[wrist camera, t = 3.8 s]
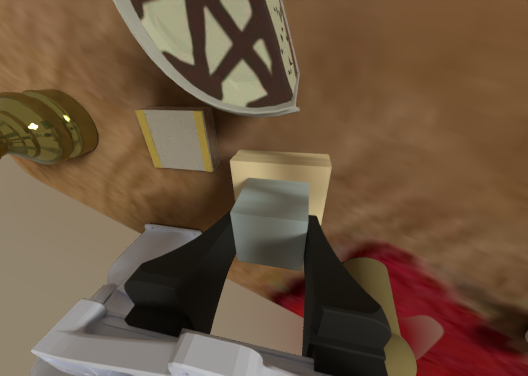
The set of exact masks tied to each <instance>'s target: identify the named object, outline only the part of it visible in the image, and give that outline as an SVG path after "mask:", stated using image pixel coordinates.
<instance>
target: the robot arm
mask: <svg viewBox="0 0 528 376" xmlns="http://www.w3.org/2000/svg"><path fill="white" fill-rule="evenodd" d="M231 210H232V209H231ZM231 210H230V211H229V212H228V213H227V214H226V215H225V216H223V217H222V218H221V219H220V220H219V221H218V222H216V223H215V224H214V225H213V226H212V227H210V228H209V229H208V230H206V231H205V232H204V233H202V232H201V231H199V230H191V229H184V228H177V227H170V226H162V225H155V224H148V223H147V224H146V225H145V229H146V230H145V231H144V232H143V233H142V234H141V235H140V236H139V237H138V238H137V239H136V240H135V241H134V242H133V243H132V244H131V245H130V246H129V247H128V248H127V249H126V250H125V251H124V252H123V253H122V254H121V255H120V256H119V258H117V260H116V261H115V262H114V264H113V265H112V267H111V269H110V272H109V274H108V278H107V282H108V284H107V285H104V286H102V287H101V288H100V289H99V290H98V291H97V292H96V293H95V294H94V295H93V296H92V298H90V299H85V298H83V299H81V300H80V301H79V302H78V303H77V304H76V305H75V306H74V307H73V308H72V309H71V310H70V311H69V312H68V313H67V314H66V315H65V316H64V317H63V318H62V319H61V320H60V321H59V322H58V323H57V324H56V325H55V326H54V328H52V329H51V330H50V331H49V332H48V333H47V334H46V335H45V337H43V338H42V340H40V342H39V343H38V344H37V345H36V346H35V347H34V348H33V349H32V350H31V352H32V353H33V354H35V355H37V356H38V357H37V358H36V360H35V364H34V366H33V367H32V369H31V371H30V376H388V373H387V370H386V366H385V362H384V361H385V360H386V355H385V351H384V347H385V346H386V344H387V343H388V341H389V340H390V339H391V336H392V332H391V328H390V325H389V322H388V320H387V317H386V315H385V313H384V311H383V309H382V306H381V305H380V304H379V303H378V302H377V301H375V300H374V299H373V298H372V297H371V296H370V295H369V294H368V293H367V292H366V291H365V290H364V289H363V288H362V287H361V286H360V285H359V284H358V282H357V281H356V280H355V279H354V278H353V277H352V275H351V274H350V273H349V272H348V271H347V269H346V268H345V267H344V266H343V264H342V263H341V261H340V260H339V259H338V257H337V256H336V254H335V253H334V251H333V249H332V248H331V246H330V244H329V242H328V241H327V239H326V237H325V235H324V233H323V231H322V228H321V226H320V223H319V221H318V217H317V216H316V215H308V228H307V235H306V243H305V250H304V272H305V303H304V327H303V328H304V329H303V347H302V356H299V355H295V354H290V353H286V352H282V351H278V350H274V349H269V348H265V347H260V346H257V345H252V344H248V343H243V342H240V341H235V340H231V339H227V338H222V337H218V336H214V335H210V332H211V328H212V324H213V320H214V316H215V313H216V309H217V306H218V302H219V299H220V295H221V292H222V289H223V286H224V282H225V279H226V276H227V273H228V271H229V268H230V266H231V264H232V261H233V259H234V257H235V255H236V246H235V240H234V234H233V227H232V221H231V215H230V212H231Z"/></svg>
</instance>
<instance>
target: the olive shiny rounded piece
mask: <svg viewBox="0 0 528 376" xmlns="http://www.w3.org/2000/svg"><path fill="white" fill-rule="evenodd" d="M97 141H98V135H97V130H96V127H95V125H94V123H93V121H92V119H91V117H90V116H89V114H88V113H87V112H86V111H85V109H84V108H83V107H82V106H81V105H80V104H79V103H78V102H77V101H75V100H74V99H73V98H72V97H70V96H69V95H67V94H65V93H63V92H61V91H58V90H54V89H44V90H26V91H24V92H22V93H16V92H2V93H0V159H1V157H2V156H4V155H6V154H11V155H15V156H19V157H21V158H25V159H29V160H32V161H34V162H37V163H40V164H44V165H58V164H61V163H63V162H64V161H66V160H67V159H69V158H76V157H78V156H80V155H81V154H84V153H87V152H89V151H92V150H93V149H94V148H95V147H96V145H97Z"/></svg>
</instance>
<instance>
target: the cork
mask: <svg viewBox="0 0 528 376" xmlns="http://www.w3.org/2000/svg"><path fill="white" fill-rule="evenodd" d="M343 266H344V267H345V268H346V269H347V271H348V272H349V273H350V274H351V275H352V277H353V278H354V279H355V280H356V281H357V282H358V284H359V285H360V286H361V287H362V288H363V289H364V290H365V291H366V292H367V293H368V294H369V295H370V296H371V297H372V298H373V299H374V300H375V301H377V302H378V303H379V304H380V305H381V306H382V309H383V311H384V313H385V315H386V317H387V320H388V322H389V325H390V328H391V332H392V336H391V339H390V340H389V341H388V343H387V344H386V346H385V347H384V351H385V355H386V360H385V361H384V362H385V366H386V370H387V373H388V376H416V372H417V366H416V359H415V357H414V354H413V352H412V350H411V348H410V347H409V345H408V343H407V342H406V341H405V340H404V339H403V338H402V337H401V335H400V330H399V325H398V320H397V315H396V311H395V306H394V301H393V296H392V291H391V286H390V281H389V276H388V271H387V268H386V267H385V265H384V264H382V263H381V262H380V261H378V260H375V259H372V258H364V257H363V258H354V259H350V260H348V261H346V262H344V263H343Z"/></svg>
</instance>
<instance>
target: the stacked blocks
mask: <svg viewBox="0 0 528 376" xmlns="http://www.w3.org/2000/svg"><path fill="white" fill-rule="evenodd" d="M230 166H231V173H232V181H233V188H234V195H235V204H234V206H233V208H232V210H231V212H230V215H231V221H232V227H233V234H234V240H235V246H236V252H237V259H238V261H243V262H249V263H255V264H261V265H267V266H273V267H279V268H285V269H292V270H298V271H302V265H303V257H304V250H305V243H306V235H307V228H308V215H316V216H317V217H318V221H319V223H320V226H321V222H322V216H323V211H324V206H325V200H326V195H327V190H328V184H329V179H330V174H331V168H332V167H331V162H330V158H329V155H328V154H311V153H293V152H276V151H258V150H241V149H240V150H239V151H238V152H237V153H236V155H235V156H233V157H232V158H231V160H230Z"/></svg>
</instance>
